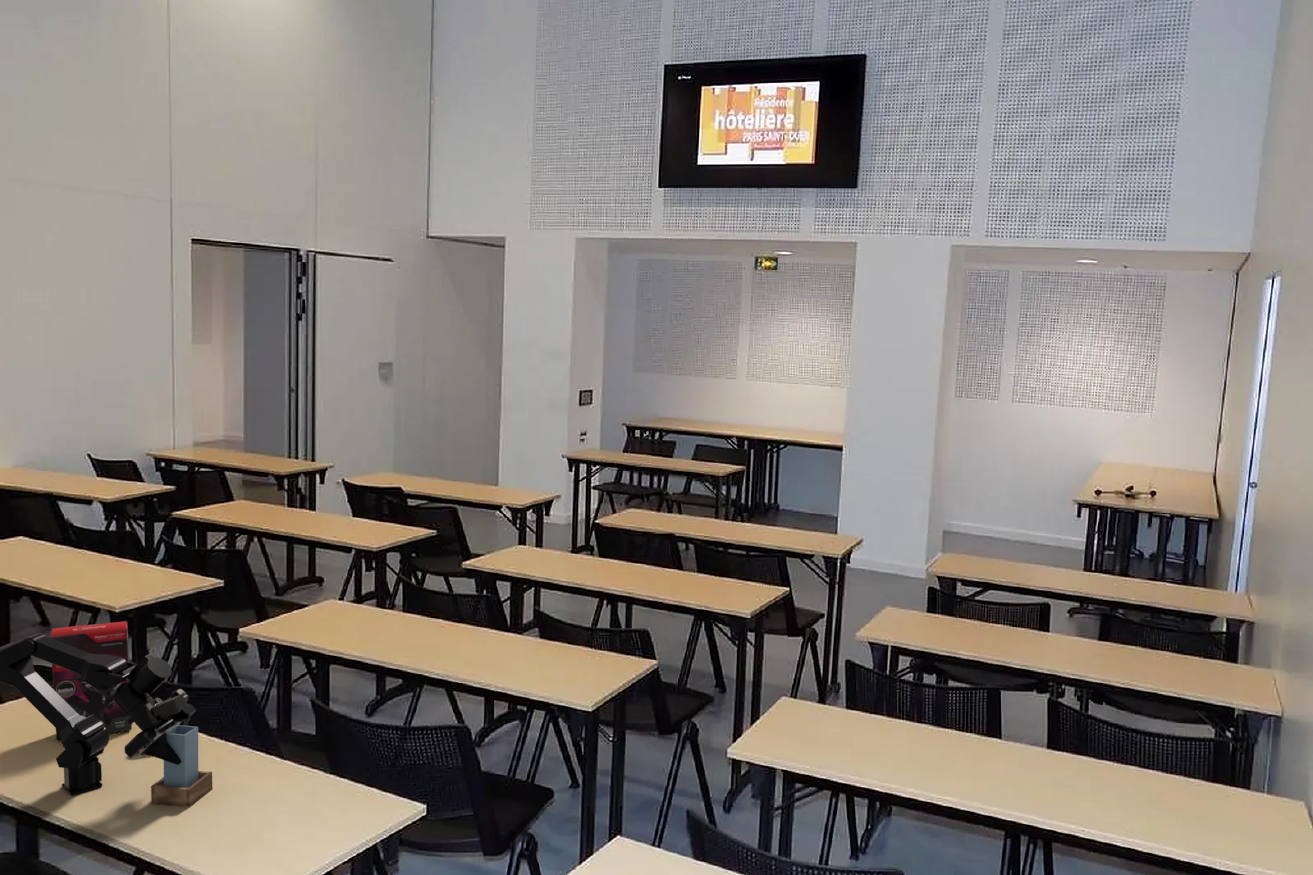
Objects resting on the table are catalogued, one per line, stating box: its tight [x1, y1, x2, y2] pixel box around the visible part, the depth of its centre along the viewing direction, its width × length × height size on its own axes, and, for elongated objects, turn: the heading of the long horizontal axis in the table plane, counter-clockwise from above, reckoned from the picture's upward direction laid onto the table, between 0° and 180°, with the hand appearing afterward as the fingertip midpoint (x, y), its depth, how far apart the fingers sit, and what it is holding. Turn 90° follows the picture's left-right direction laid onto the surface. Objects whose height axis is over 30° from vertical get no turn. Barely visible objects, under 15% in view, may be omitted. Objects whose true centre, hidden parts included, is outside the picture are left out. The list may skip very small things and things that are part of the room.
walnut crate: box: [150, 770, 213, 808], centre depth 229 cm, size 9×9×4 cm
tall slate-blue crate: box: [163, 725, 199, 788], centre depth 229 cm, size 5×5×13 cm
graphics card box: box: [50, 620, 133, 742], centre depth 261 cm, size 17×7×27 cm, turn 117°
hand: (187, 758), depth 229 cm, fingers closed on tall slate-blue crate, 5 cm apart
